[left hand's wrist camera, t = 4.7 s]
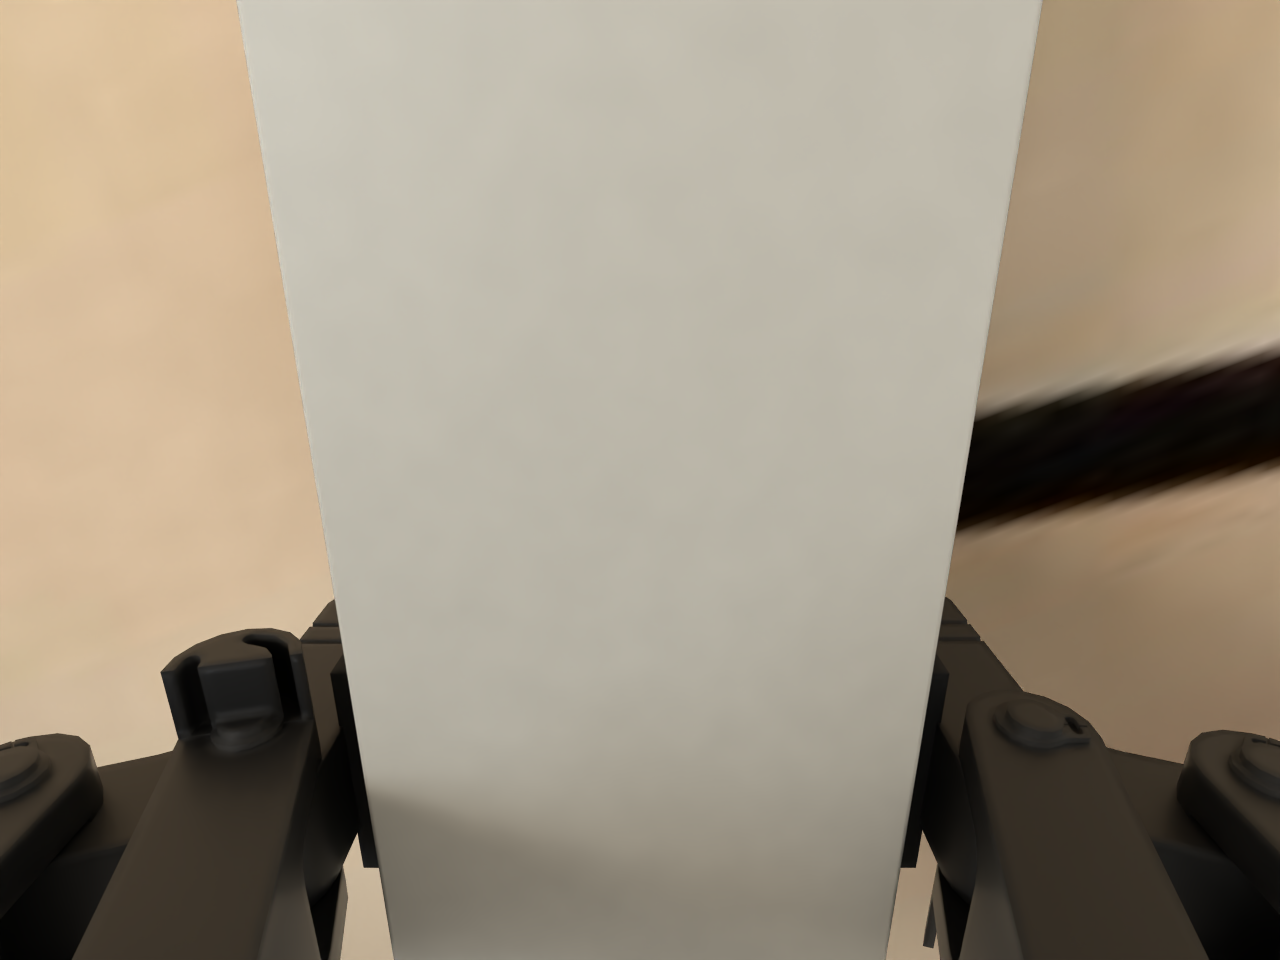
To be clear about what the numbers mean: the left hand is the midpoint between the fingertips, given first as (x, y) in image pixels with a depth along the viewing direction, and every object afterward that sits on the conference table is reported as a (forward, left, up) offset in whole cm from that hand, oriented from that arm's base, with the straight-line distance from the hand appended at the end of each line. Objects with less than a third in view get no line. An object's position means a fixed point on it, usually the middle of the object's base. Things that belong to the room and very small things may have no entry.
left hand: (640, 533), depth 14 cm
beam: (+28, +12, -1) cm, 30 cm away
